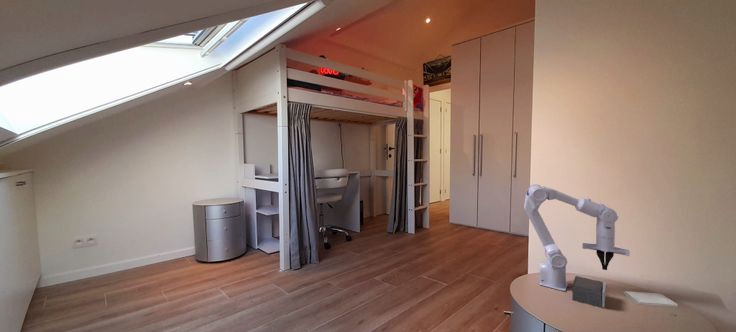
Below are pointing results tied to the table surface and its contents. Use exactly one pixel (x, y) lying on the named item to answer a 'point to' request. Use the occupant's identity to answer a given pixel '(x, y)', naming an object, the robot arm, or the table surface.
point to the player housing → (587, 291)
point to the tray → (603, 295)
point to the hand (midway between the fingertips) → (604, 269)
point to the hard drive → (650, 299)
